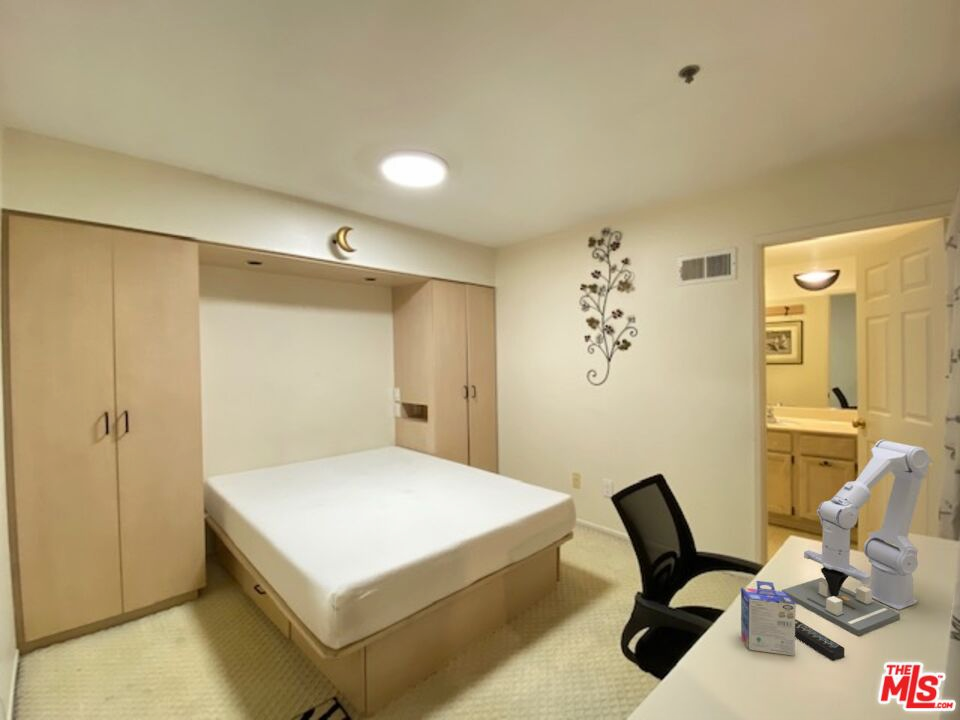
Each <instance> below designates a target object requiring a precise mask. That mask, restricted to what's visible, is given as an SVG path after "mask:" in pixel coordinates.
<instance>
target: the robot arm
mask: <svg viewBox="0 0 960 720" xmlns="http://www.w3.org/2000/svg"><path fill="white" fill-rule="evenodd" d="M870 456H871V458H870V460H869V461H868V463H867V464H866V465H865V467H863V470H862V471H861V472H860V474H859V475H858V476H857V478H856V479H855V480H854V481H847V482H846V483H845V484H844V485H843V486H842V487H841V488H840V489H839V491H838V492H836V494H834V496H833V497H832V498H831V499H830V500H827V501H825V500H824V501H822V502H821V503H820V504H819V506H818V509H816V514H817V517H819V519H820V525H821V526H822V543H821V553H819V552H815V551H812V550H809V549H808V550H804V551H803V558H804V559H806V560H811V561H813V562H816V563H818V564H820V565H822V568H820V572H821V573H822V575H823V578H824V579H826V581H827V583H828V586H829V589H830V595H831V596H835V597H836V596H838V595H839V590H840V588H841V587H843V585H844V583H845V582H846V580H847V579H848V578H849V577H851V578H852V579H855V580H856V581H860V582H861V584H864V585H867V584H870V589H871V590H872V599H873V600H874V601H878V602H880V603H882V604H883V605H885V606H888V607H891V608H892V609H893V608H894V609H895V610H897V611H898V610H899V611H900V610H903V609H905V608H907V607H910V606H912V605H915V604H918V600H917V599H914V577H913V573H914V572H915V571H916V570H917V568H918V563H919V561H918V551H919V550H918V548H917V547H916V546H915V545H914V543H912V541H910V539H909V533H910V530H911V525H912V523H913V522H912V521H913V518H914V514H915V511H916V507H917V503H918V500H919V497H920V496H919V495H920V492H921V488H922V484H923V481H924V479H926V478H927V474H928V469H929V468H930V463H931V459H932V458H931V456H930V455H929V453H928V452H927V450H926V449H925V448H924V447H922V446H914V445H910V444H909V445H908V444H904V443H900V442H895V441H889V440H886V439H880V440H878V441H876V443H875V444H874V445H873V447H872V448H871V449H870ZM890 472H891V473H892V474H893V476H894V480H893V483H892V488H891V491H890V495H889V499H888V501H887V502H888V503H887V506H886V509H885V513H884V517H883V521H882V524H881V528H880V529H877V530H873V531H871V532H870V533H869V536H868V537H867V540H865V542H864V544H863V554H864V555H865V557H866V558H868V562H869V563H870V564H871V566H870V567H871V569H870V574H867V573H865V572H863V571H862V570H861V569H858V568H857V567H854V566H852V565H851V564H850V561H851V560H850V556H851V555H850V550H851V549H850V547H851V528H853V527H854V526H856V525H857V522H858V517H859V515H860V510H861V509H862V508H863V507H864V506H865V504H867V502H869V500H870V499H871V498H872V493H871V489H873V487H875V486H876V485H877V484H878V483H879V482H880V481H881V480H882V479H883V478H884V477H886V476H887V475H888V474H889V473H890Z"/></svg>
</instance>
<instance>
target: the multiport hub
mask: <svg viewBox="0 0 960 720" xmlns="http://www.w3.org/2000/svg"><path fill="white" fill-rule="evenodd" d="M795 637H796V638H797V639H796V638H795V639H796V640H798V639H799V640H798V641H800V642H801V641H802V642H801V643H803V644H804V643H805V645H806V646H807V647H810V648H811V649H812V648H813V649H812V650H814V651H815V652H817V653H819V654H820V655H822V656H824V658H827V659H828V660H830V661H832V662H835V661H837V660H840V659H843V658H845V647H844V646H842V645H840V644H839V643H837V642H835V641H834V640H832V639H830V638H829V637H827V636H826V635H823V634H822V633H820V632H818V631H817V630H815V629H813V628H811V627H810V626H808V625H806V624H805V623H803V622H802V621H800V620H798V619H796V618H795Z"/></svg>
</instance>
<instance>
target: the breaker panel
mask: <svg viewBox="0 0 960 720" xmlns="http://www.w3.org/2000/svg"><path fill="white" fill-rule="evenodd" d="M823 581H826V579H825V577H818V578H816V579H812V580H809V581H806V582H803V583H800V584H797V585H794V586H790V587H787V588H784V589H781V591H783V592H785V593H786V594H787V595H788V596H789V597H790V598H791V599H792V600H793V601H794V602H795V604H796V605H799V606H801V607H803V608H805V609H806V610H807V611H810V612H812V613H814V614H816V615H818V616H819V617H821V618H823V619H825V620H827V621H828V622H831V623H833V624H834V625H836V626H837V627H840V628H842V629H844V630H846V631H847V632H849V633H851V634H853V635H855V636H856V637H860V636H863V635H865V634H867V633H870V632H873V631H875V630H877V629H880V628H882V627H884V626H886V625H887V626H888V625H889V624H891V623H894V622H896V621H899V620H900V619H901V613H900V612H898V611H895V610H893V609H891V608H889V607H887V606H886V605H884V604H883V605H882V604H880V603H879V602H876V601H875V600H874V601H873V600H872V601H873V602H874V603H871V604H868V605H866V604H864V603H862V602H860V601H858V600H856V599H854V598H855V597H856V591H853V590H850V589H849V588H846V587H843V586H841V588H840V590H839V595H838V596H836V597H837V598H839V599H841V600H842V612H844V614H842V615H839V616H836V615H834V614H832V613H830V612H828V611H826V610H824V608H826V597H824V596H822V595H820V594H818V593H817V592H819V582H823ZM862 634H863V635H862Z"/></svg>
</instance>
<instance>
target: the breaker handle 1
mask: <svg viewBox="0 0 960 720" xmlns="http://www.w3.org/2000/svg"><path fill="white" fill-rule="evenodd" d="M824 610H826V611H828V612H830V613H832V614H834V615H836V616H839V615H842V614H844V612H842V600H841V599H839V598H837V597H835V596H832V597H829V598H826V608H824Z"/></svg>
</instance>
